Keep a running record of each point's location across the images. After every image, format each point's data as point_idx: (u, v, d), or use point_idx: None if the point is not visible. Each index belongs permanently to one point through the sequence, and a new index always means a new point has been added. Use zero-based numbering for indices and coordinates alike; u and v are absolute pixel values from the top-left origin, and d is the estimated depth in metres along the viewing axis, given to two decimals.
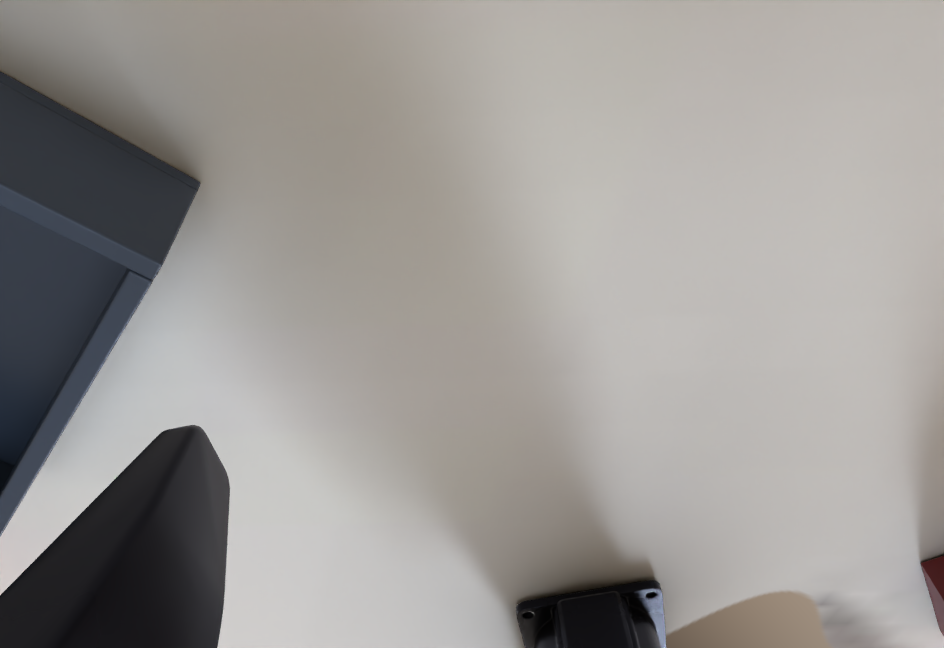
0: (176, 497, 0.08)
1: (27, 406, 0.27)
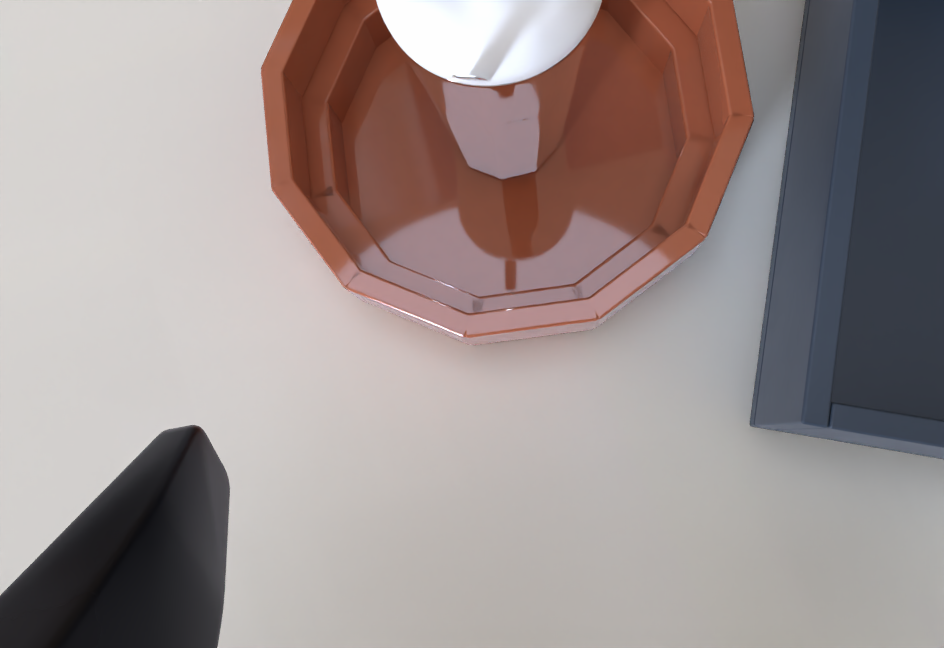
0: (176, 497, 0.08)
1: (897, 405, 0.21)
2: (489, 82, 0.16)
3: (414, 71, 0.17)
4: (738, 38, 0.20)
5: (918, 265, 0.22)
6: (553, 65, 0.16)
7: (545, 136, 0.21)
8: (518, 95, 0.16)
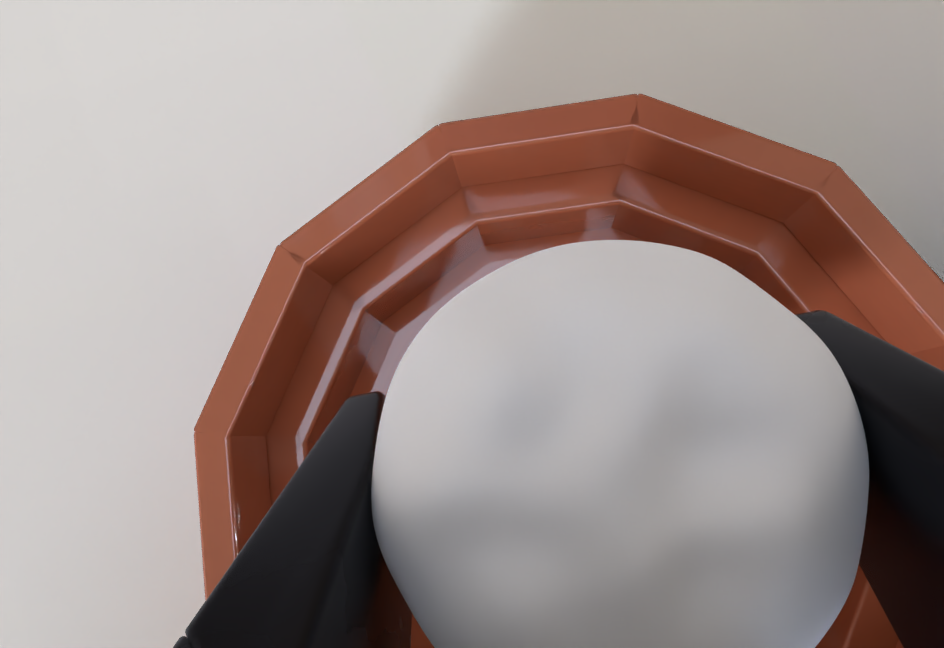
0: None
1: None
2: None
3: None
4: None
5: None
6: None
7: None
8: None
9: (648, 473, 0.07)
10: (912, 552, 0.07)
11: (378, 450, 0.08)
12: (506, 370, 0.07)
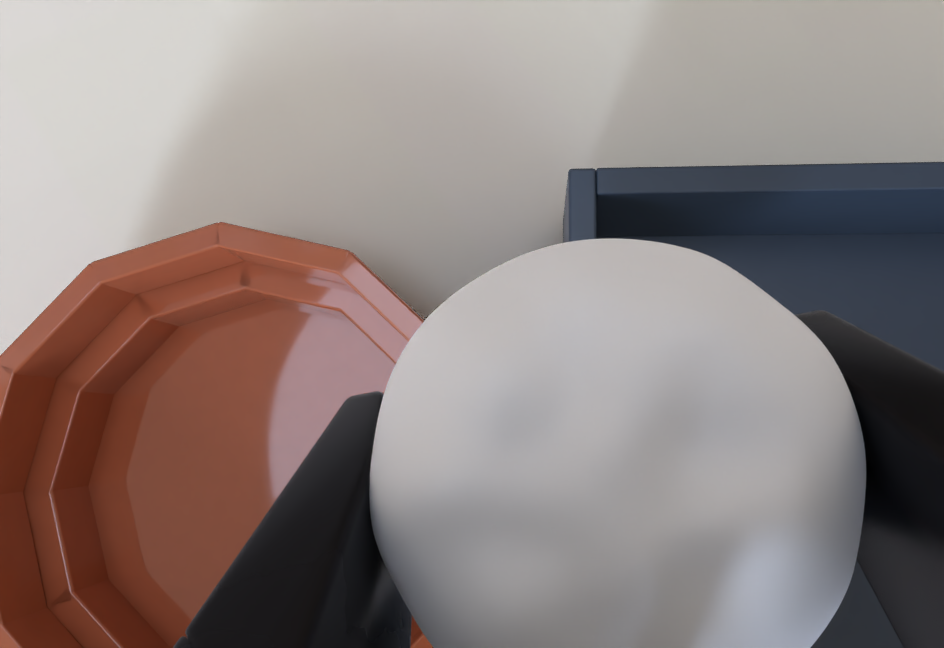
0: None
1: None
2: None
3: None
4: None
5: None
6: None
7: None
8: None
9: (646, 471, 0.07)
10: (912, 552, 0.07)
11: (376, 448, 0.08)
12: (502, 369, 0.07)
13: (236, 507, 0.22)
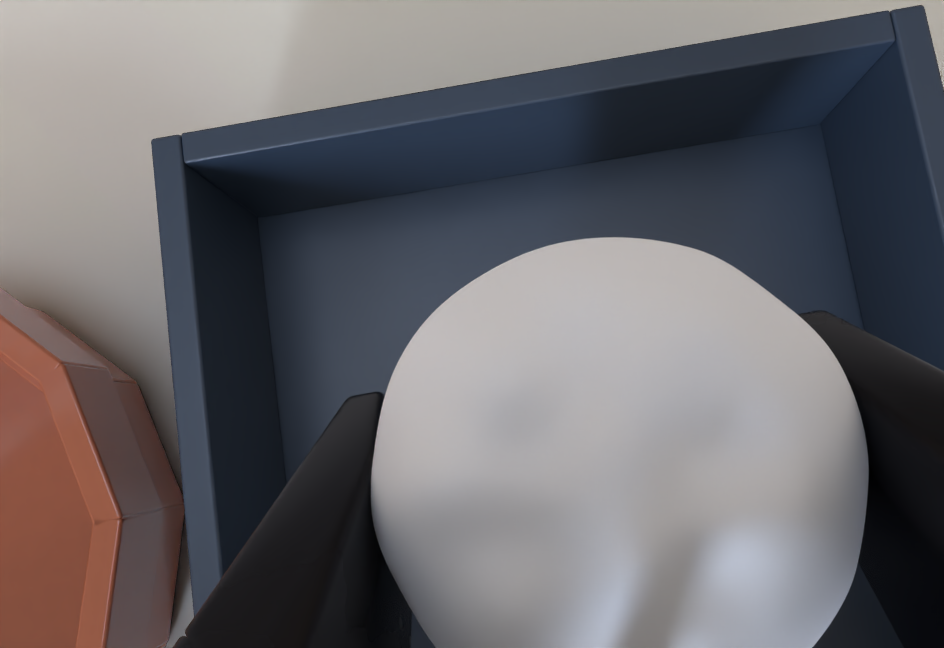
0: None
1: None
2: None
3: None
4: (81, 418, 0.16)
5: None
6: None
7: None
8: None
9: (647, 470, 0.07)
10: (912, 552, 0.07)
11: (378, 447, 0.08)
12: (505, 366, 0.07)
13: None
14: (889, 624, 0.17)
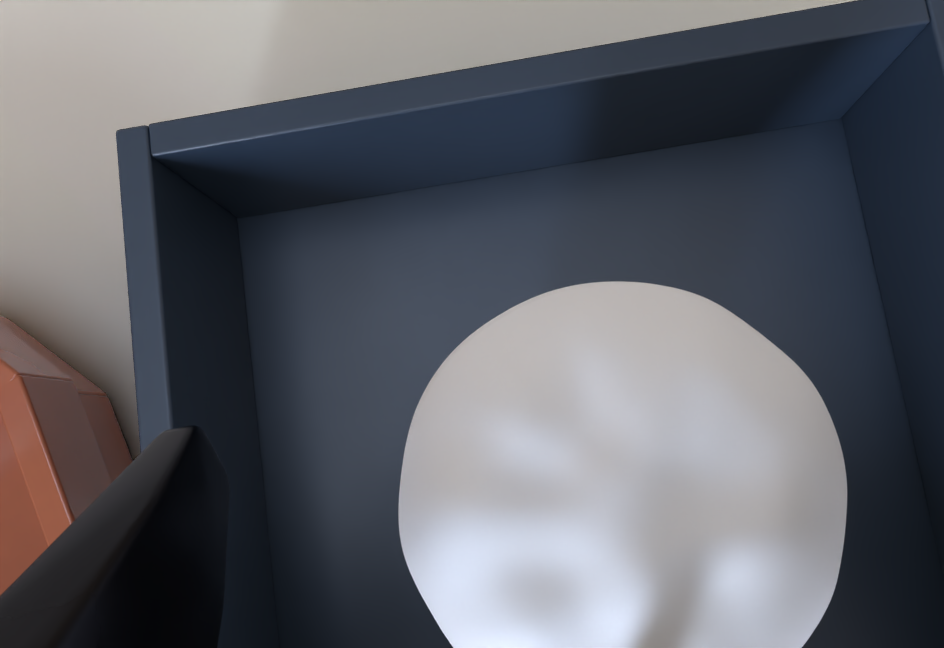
0: (176, 497, 0.08)
1: None
2: None
3: None
4: (39, 435, 0.14)
5: None
6: None
7: None
8: None
9: (651, 496, 0.07)
10: None
11: (404, 476, 0.08)
12: (522, 404, 0.08)
13: None
14: None
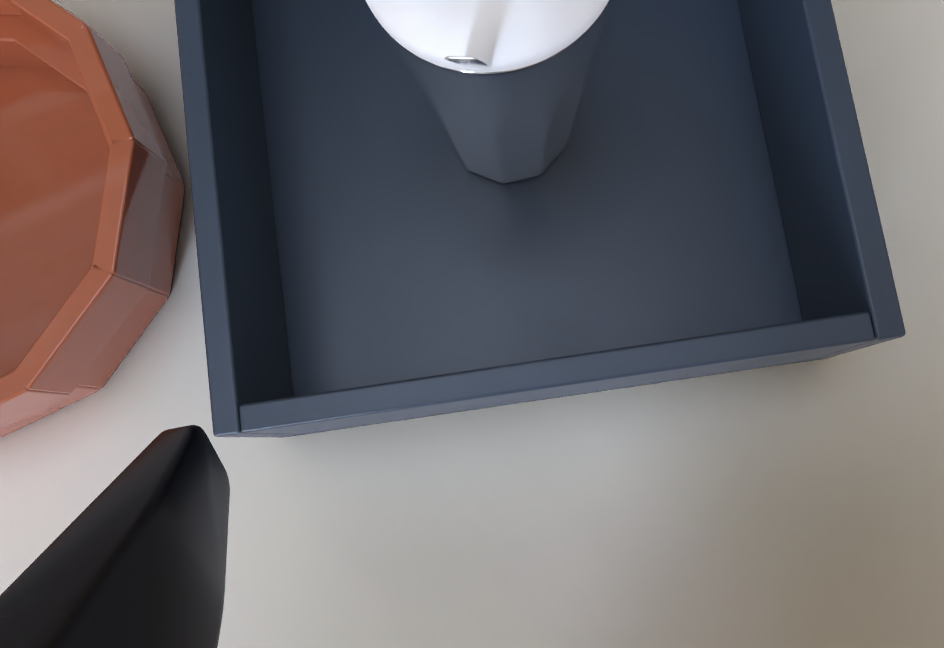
0: (176, 497, 0.08)
1: (406, 372, 0.21)
2: (489, 68, 0.13)
3: (402, 59, 0.15)
4: (102, 66, 0.19)
5: (393, 227, 0.21)
6: (565, 48, 0.13)
7: (553, 134, 0.18)
8: (523, 84, 0.14)
9: None
10: None
11: None
12: None
13: None
14: (758, 253, 0.20)
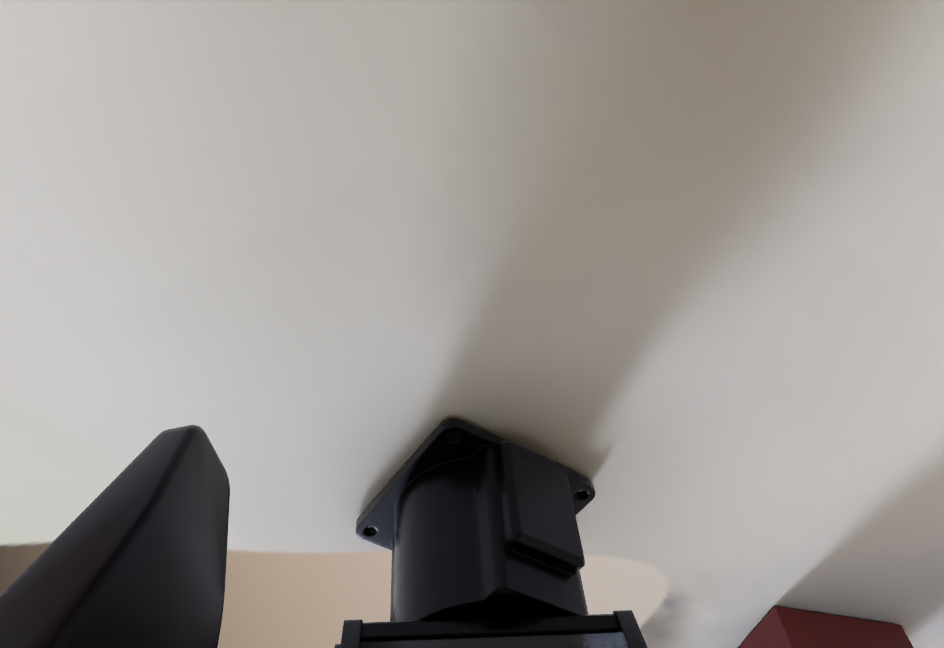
0: (176, 497, 0.08)
1: None
2: None
3: None
4: None
5: None
6: None
7: None
8: None
9: None
10: None
11: None
12: None
13: None
14: None
